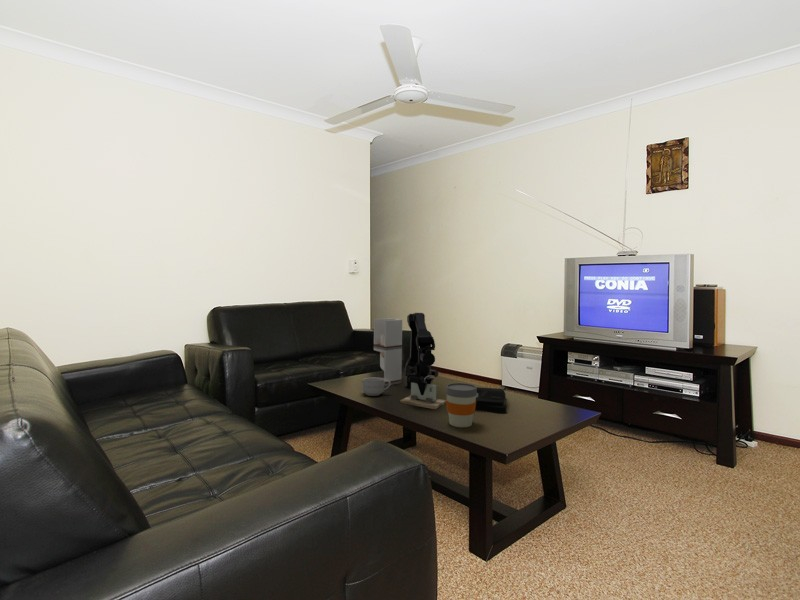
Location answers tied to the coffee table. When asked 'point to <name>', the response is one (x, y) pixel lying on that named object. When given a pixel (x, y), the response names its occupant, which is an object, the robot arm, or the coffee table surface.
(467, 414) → the reusable coffee cup
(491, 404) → the gaming console
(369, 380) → the teacup
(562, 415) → the coffee table surface
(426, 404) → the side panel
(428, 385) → the door slab
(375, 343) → the white stacked tower
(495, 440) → the coffee table surface
